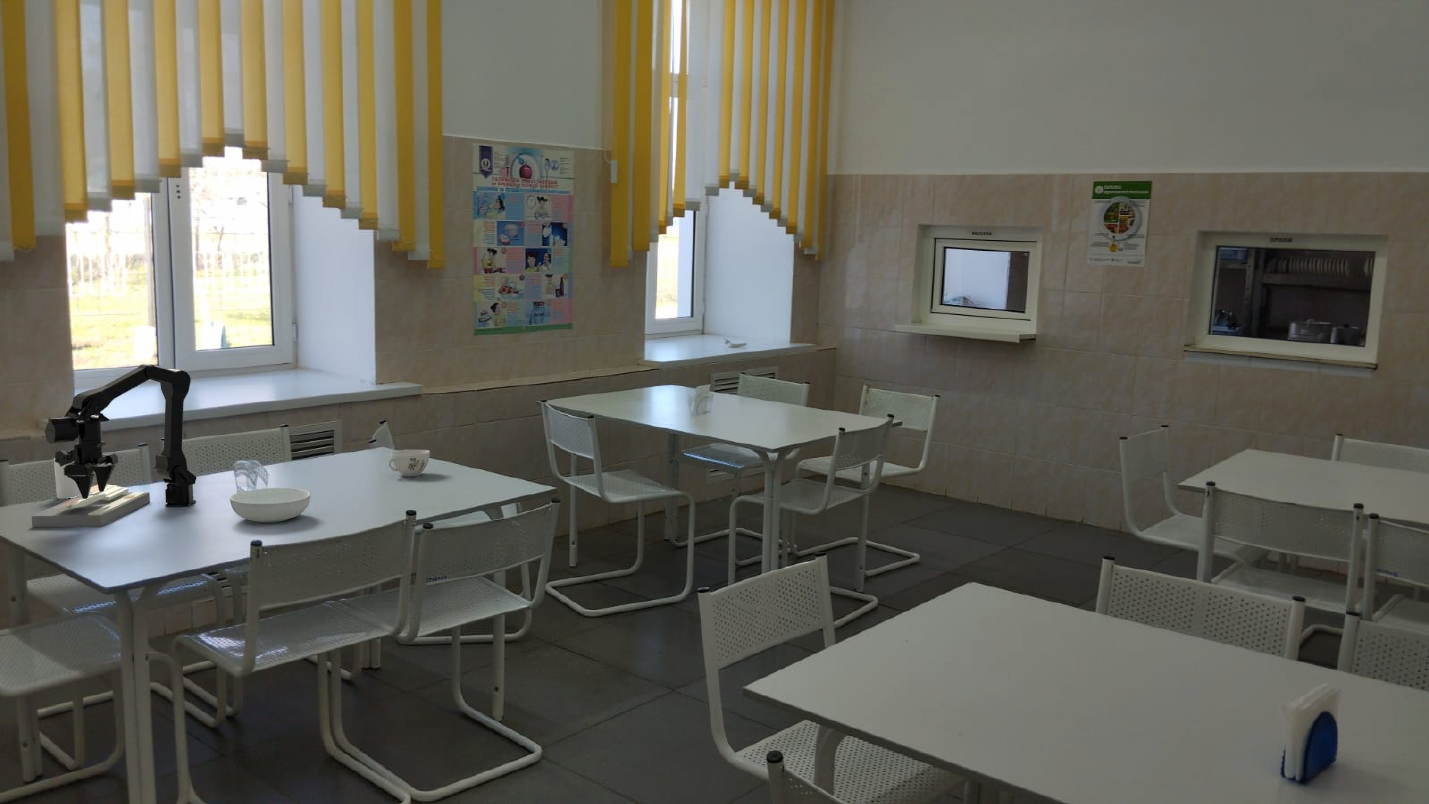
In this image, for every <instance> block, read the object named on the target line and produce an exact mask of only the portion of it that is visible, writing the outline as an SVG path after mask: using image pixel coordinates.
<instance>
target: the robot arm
mask: <svg viewBox="0 0 1429 804" xmlns="http://www.w3.org/2000/svg"><path fill="white" fill-rule="evenodd" d="M191 379H192V378H191V375H190V374H189V373H188V372H187V371H185V370H182V369H176V368H175V369H173V368H168V369H166V368H162V367H159V366H155V365H154V364H147V363H142V364H140V365H138V366H137V367H136V368H134V369H132V370H131V371H129V372H127V373H125V374H123V375H122V376H119V377H118V378H116V379H114V380H112V381H110V382H109V383H107V384H105V385H102V386H100V387H96V388H92V389H88V390H85V391H82V392H79V393H77V394H75V395H74V396H73V399H72V403H71V406H70V407H69V408H68V410H67V411H66V413H65V414H64V416H63V417H49V418H48V419H47V421H48V423H47V424H46V426H45V429H44V434H45V435H44V436H45V439H46V441H47V442H48V444H50V445H51V444H53V445H54V444H60V443H69V442H70V443H71V442H74V441H76V439H77V442H76V443H75V444H74V445H73V449H72V450H69V451H65V450H64V449H62V450H59V451H56V452H55V453H54V458H55V460H54V459H53V462H54V461H55V462H57V463H59V465H60V467H61V466H64V465H66V464H68V465H66V466H65V467H64V475H65V476H67V477H68V478H71V479H73V480H74V481H75V482H76V484H77V486H78V488H79V491H80V493H81V495H82V497H83V499H87V498H88V496H89V492H90V489H91V487H92V486H93V480H94V476H95V478H96V483H97V484H96V485H98V489H99V491H100V492H103V491H104V490H105V487H106V485H107V484H108V483H109V480H110V478H111V476H112V474H113V472H114V471H115V468H116V467H117V464H119V456H118V455H117V454H116V453H115V452H113V453H111V452H109V453H104V450H103V447H104V446H106V441H105V440H103V435H102V434H103V433H102V423H104V422H109V421H110V418H108V417H106V415H104V413H102V411H104V410H105V409H106V408H109V406H110V404H111V403H112V402H113V401H114V400H115V399H117V398H118V397H121V396H122V395H124V394H126V393H127V392H129V391H132V390H133V389H135V388H137V387H138V386H140V385H142V384H145V383H146V382H148V381H149V380H151V381H154V382H156V383H159V384H160V391H161V393H162V395H163V397H164V400H165V401H164V402H165V405H164V408H165V409H164V434H163V435H164V437H163V439H164V440H163V449H162V451H161V454H156V455H155V466H154V469H155V470H156V473H157V475H158V476H159V477H161V478H162V480H163V482H164V484H166V488H165V489H164V490H165V503H166V504H164V505H165V507H189V506H191V505H192V504H194V503H196V502H197V500H196V499H194V485H195V484H196V482H197V476H196V475H195V474H193V472H191V471H190V470H189V469H188V461H187V458H186V456H185V454H184V451H183V435H184V433H183V431H184V402H185V399H186V397H187V395H188V394H189V391H190V386H191V381H192V380H191ZM73 461H74V463H72V462H73ZM69 463H71V464H69ZM93 472H94V473H93Z"/></svg>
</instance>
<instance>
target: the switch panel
mask: <svg viewBox="0 0 1429 804" xmlns="http://www.w3.org/2000/svg"><path fill="white" fill-rule="evenodd" d="M150 496H151V493H150V492H148V491H147V492H146V491H133V492H132V491H131V492H130V491H128V492H126V493H124V494H122V495H120V496H118V497H116V498H113V499H111V500H103V499H100V500H98V501H95V502H93V503H91V504H89V505H87V506H84V507H78V508H73V509H71V510H69V509H68V510H62V511H57V512H55V509H54V508H56V507H58V506H60V505H62V504H65V503H67V502H69V501H72V500H74V499H78V498H83V497H82V496H81V495H79V496H77V497H75V498H72V499H67V500H66V501H63V502H60V503H59V504H56V505H54V506H51V507H49V508H47V509H45V510H42V511H40V512H37V513H35V514H33V515H31V527H33V528H51V527H52V528H72V527H73V528H75V527H76V528H78V527H81V528H83V527H84V528H85V527H86V528H87V527H89V528H91V527H92V528H93V527H94V528H95V527H96V528H98V527H99V528H101V527H104V526H106V525H108V524H110V523H112V522H114V521H115V520H118V519H119V518H121V517H124V516H125V515H128V514H130V513H132V512H134V511H135V510H137V509H140V508H141V507H144V506H145V504H146V503H148V502H150V503H151V497H150ZM148 504H149V503H148ZM143 505H144V506H143ZM146 505H147V504H146Z"/></svg>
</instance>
